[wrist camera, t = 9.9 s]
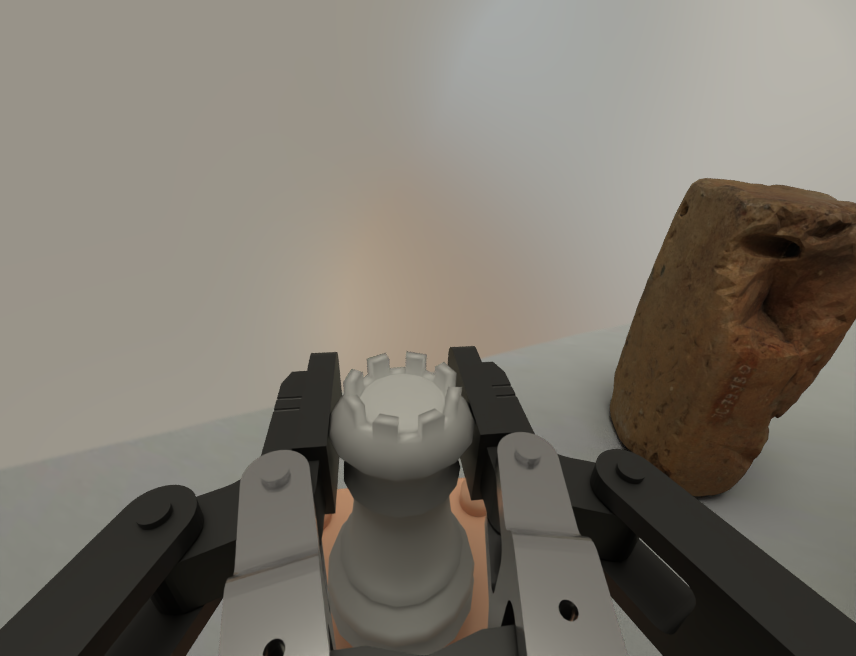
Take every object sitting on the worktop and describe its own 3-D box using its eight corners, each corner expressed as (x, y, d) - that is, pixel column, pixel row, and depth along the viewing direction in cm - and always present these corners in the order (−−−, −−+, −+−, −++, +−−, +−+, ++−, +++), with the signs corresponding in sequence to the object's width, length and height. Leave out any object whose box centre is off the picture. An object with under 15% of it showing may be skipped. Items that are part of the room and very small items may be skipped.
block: (598, 396, 37) (675, 168, 27) (682, 404, 37) (795, 174, 26) (637, 500, 28) (779, 213, 17) (750, 513, 27) (967, 225, 17)
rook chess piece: (490, 550, 14) (529, 357, 10) (440, 709, 10) (468, 511, 6) (375, 501, 15) (366, 315, 11) (297, 625, 12) (241, 419, 7)
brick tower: (475, 585, 23) (498, 462, 17) (530, 835, 15) (600, 757, 10) (313, 605, 22) (283, 481, 16) (286, 887, 14) (213, 833, 9)
